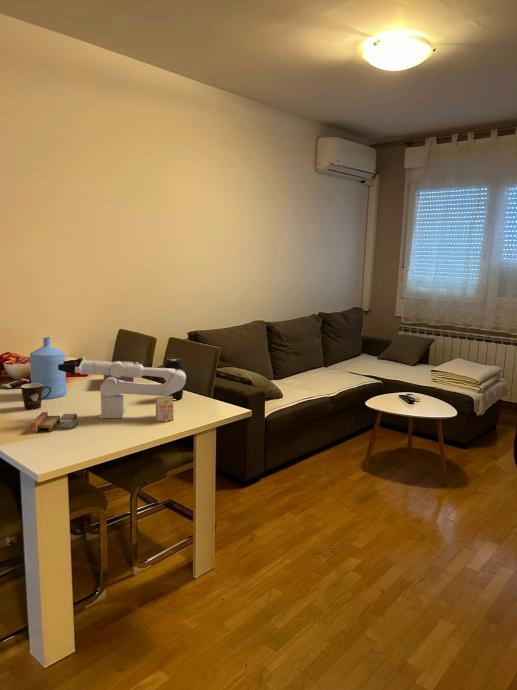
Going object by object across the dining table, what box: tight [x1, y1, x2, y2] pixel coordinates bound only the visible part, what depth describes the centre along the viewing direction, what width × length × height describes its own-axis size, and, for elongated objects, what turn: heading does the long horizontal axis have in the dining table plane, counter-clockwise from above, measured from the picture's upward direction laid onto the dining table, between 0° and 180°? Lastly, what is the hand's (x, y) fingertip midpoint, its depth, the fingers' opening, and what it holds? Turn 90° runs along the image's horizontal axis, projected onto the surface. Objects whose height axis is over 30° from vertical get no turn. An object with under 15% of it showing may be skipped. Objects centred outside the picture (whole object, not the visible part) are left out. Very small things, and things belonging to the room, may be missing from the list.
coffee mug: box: [20, 383, 51, 411], centre depth 218 cm, size 12×9×10 cm
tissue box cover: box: [103, 360, 134, 382], centre depth 265 cm, size 26×14×10 cm, turn 14°
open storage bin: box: [60, 413, 79, 430], centre depth 193 cm, size 5×5×4 cm
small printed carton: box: [155, 396, 174, 422], centre depth 204 cm, size 4×7×10 cm, turn 108°
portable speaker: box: [163, 356, 185, 400], centre depth 237 cm, size 9×9×20 cm
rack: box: [30, 411, 61, 434], centre depth 193 cm, size 7×14×4 cm, turn 6°
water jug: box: [29, 336, 68, 400], centre depth 238 cm, size 16×16×28 cm
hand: (60, 365), depth 204 cm, fingers open, 7 cm apart
